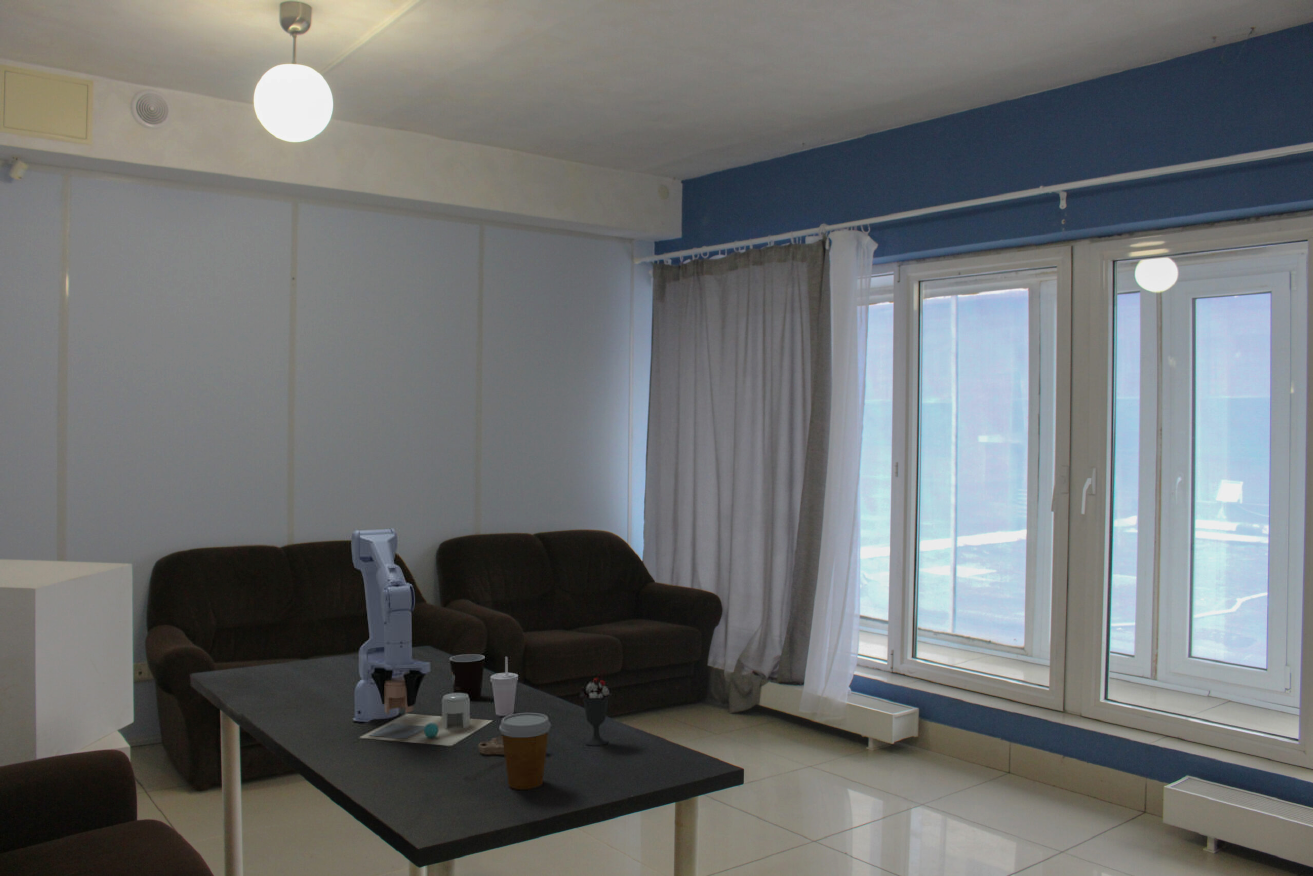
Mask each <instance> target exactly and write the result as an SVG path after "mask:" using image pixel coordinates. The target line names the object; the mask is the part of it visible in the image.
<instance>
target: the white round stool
mask: <svg viewBox="0 0 1313 876" xmlns="http://www.w3.org/2000/svg"><path fill="white" fill-rule="evenodd" d="M470 702H471V701H470V698H469V697H468V694H466V693H454V692H452V693H447V694H444V695H443V696H442V699H441V716H442V727H443V728H444V729H447V725H448V724H452V723H463V728H466V727H468V726H470V719H471V714H470V711H471V707H470V706H471V703H470Z"/></svg>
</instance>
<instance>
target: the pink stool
mask: <svg viewBox="0 0 1313 876" xmlns="http://www.w3.org/2000/svg"><path fill="white" fill-rule="evenodd" d="M394 708H399V709H405V710H404V712H405V714H409V713H410V712H413V710H414V705H412V706H408V705H407V690H406V684H405V680H404V676H401V677H396V678H390V679H387V680H386V681H385V683H384V711H385V712H386V713H387V714H388V713H389V710H390V709H394Z"/></svg>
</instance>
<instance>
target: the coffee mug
mask: <svg viewBox="0 0 1313 876" xmlns="http://www.w3.org/2000/svg"><path fill="white" fill-rule="evenodd" d="M485 658H486V657H485V655H482V654H478V653H477V654H474V653H473V654H471V653H467V654H459V655H453V656H451V657H450V658H449V665H450V673H451V681H452V682H451V683H452V687H453V693H466V694H468V697H469V698H470V702H475V701H478V700H480V699H481V698H482V689H483V678H484V668H485V660H486V659H485ZM477 699H478V700H477ZM474 700H475V701H474Z"/></svg>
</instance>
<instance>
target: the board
mask: <svg viewBox="0 0 1313 876" xmlns="http://www.w3.org/2000/svg"><path fill="white" fill-rule="evenodd" d="M492 722H493V720H492V719H491V720H489V719H477V718H470V726H468V727H466V728H463V723H452V724H448V725H447V729H444V728H443V727H442V715H441V716H440V715H429V714H415V713H405V714H403V715H401V716H398V717H397V718H394V719H393V720H391V721H389V722H387V723H385V724H382V725H381V726H378V727H377V728H375V729H373V730H371V731H369V732H367V733H365V734H363V735H361V736H359V738H358V739H367V740H368V739H370V740H381V741H391V742H392V741H393V742H400V743H401V742H403V743H412V744H413V743H415V744H425V745H437V746H445V747H446V746H447V747H453V746H454V745H456V744H457V743H459V742H461V741H462V740H464V739H465V738H467V737H468V736H470V735H472V734H473V733H475V732H477V731H479V730H480V729H482V728H484V727H485V726H486V725H488V724H490V723H492ZM429 723H434V724H436V725H437V727H438V733H437V735H436V736H435V737H433V738H429V737H427V736H426V735H425V734H424V728H425V726H426V725H427V724H429Z"/></svg>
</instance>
